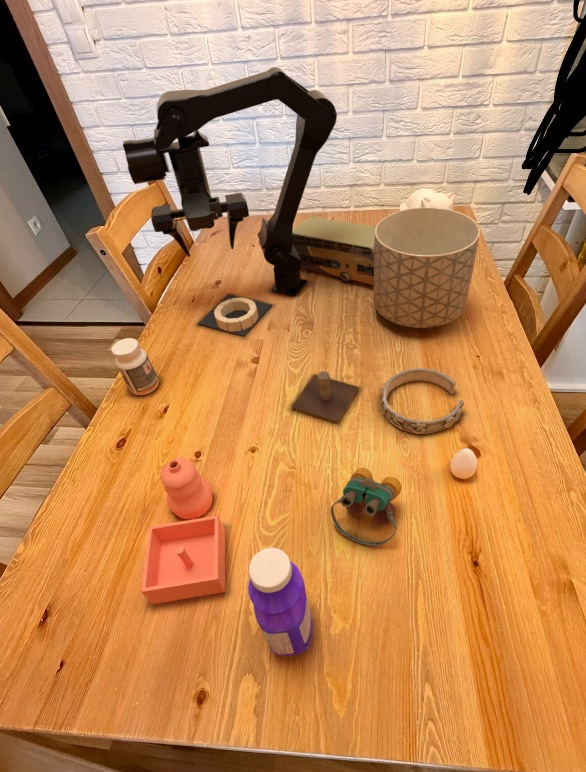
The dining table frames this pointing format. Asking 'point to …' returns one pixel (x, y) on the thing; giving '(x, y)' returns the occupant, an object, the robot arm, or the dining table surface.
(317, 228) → the toy bus
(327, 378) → the stand
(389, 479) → the binoculars
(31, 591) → the dining table surface
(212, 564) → the pottery
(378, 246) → the planter
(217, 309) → the beige segmented ring
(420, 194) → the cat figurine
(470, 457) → the egg
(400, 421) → the bracelet
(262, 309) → the rubber mat
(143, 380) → the pill bottle
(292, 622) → the bottle
